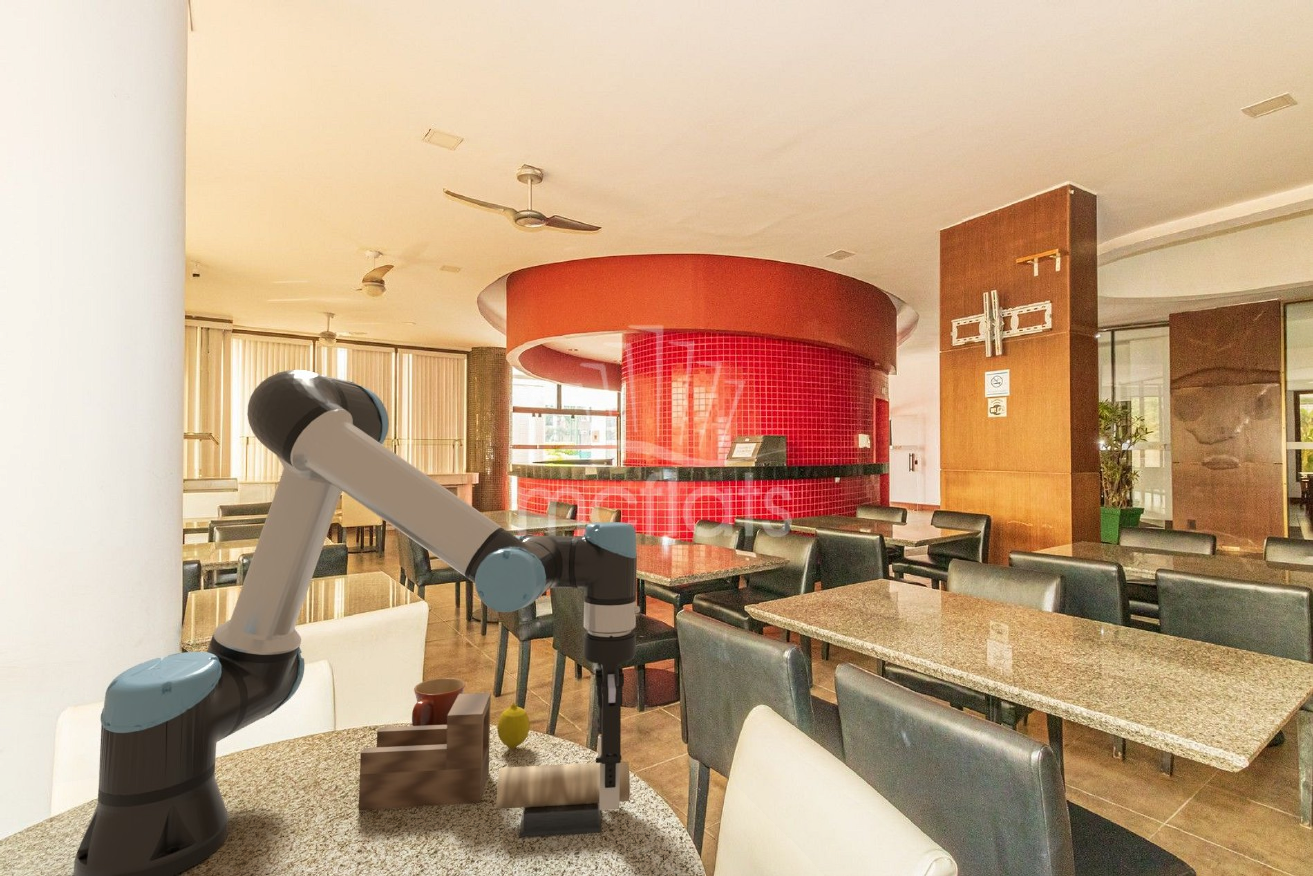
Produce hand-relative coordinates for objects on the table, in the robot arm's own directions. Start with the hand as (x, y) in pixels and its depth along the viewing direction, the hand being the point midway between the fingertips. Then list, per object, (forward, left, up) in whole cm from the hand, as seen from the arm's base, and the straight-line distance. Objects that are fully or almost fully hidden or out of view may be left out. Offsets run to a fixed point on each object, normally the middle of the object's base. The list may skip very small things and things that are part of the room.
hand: (607, 794), depth 87 cm
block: (-27, +10, -3) cm, 29 cm away
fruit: (-16, +23, -3) cm, 28 cm away
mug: (-30, +25, -3) cm, 39 cm away
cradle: (-7, 0, -3) cm, 7 cm away
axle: (-6, +1, 0) cm, 6 cm away
